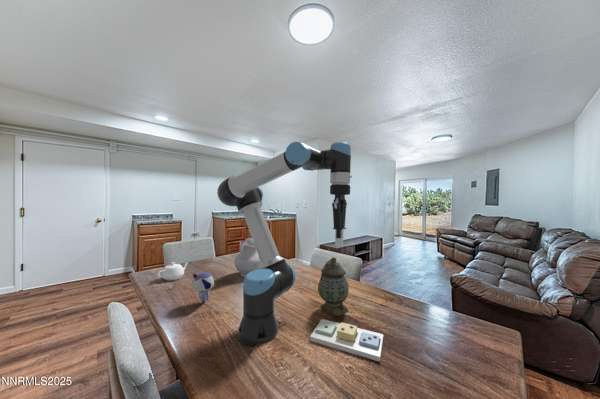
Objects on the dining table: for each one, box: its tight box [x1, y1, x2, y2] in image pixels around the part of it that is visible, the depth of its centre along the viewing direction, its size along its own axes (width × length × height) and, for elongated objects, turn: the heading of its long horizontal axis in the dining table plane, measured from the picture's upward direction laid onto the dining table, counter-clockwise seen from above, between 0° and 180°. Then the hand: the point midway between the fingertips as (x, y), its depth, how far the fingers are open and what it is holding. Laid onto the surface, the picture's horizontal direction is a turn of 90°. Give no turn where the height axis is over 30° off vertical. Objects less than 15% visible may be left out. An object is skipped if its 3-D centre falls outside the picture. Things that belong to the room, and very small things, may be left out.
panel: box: [309, 318, 384, 363], centre depth 82 cm, size 24×13×2 cm, turn 65°
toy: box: [192, 271, 215, 304], centre depth 111 cm, size 11×10×15 cm
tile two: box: [337, 322, 358, 342], centre depth 82 cm, size 6×6×3 cm
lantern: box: [317, 257, 350, 317], centre depth 105 cm, size 14×14×25 cm
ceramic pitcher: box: [233, 237, 262, 278], centre depth 151 cm, size 22×20×25 cm
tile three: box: [360, 332, 380, 350], centre depth 79 cm, size 6×6×3 cm
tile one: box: [316, 320, 336, 337], centre depth 85 cm, size 6×6×3 cm
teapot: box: [157, 261, 189, 282], centre depth 144 cm, size 20×12×10 cm, turn 150°
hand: (339, 246), depth 85 cm, fingers closed
